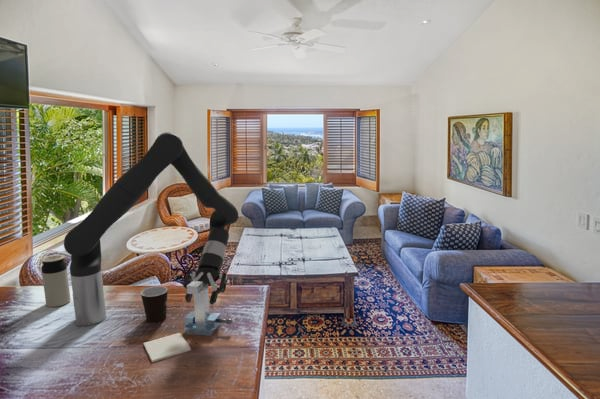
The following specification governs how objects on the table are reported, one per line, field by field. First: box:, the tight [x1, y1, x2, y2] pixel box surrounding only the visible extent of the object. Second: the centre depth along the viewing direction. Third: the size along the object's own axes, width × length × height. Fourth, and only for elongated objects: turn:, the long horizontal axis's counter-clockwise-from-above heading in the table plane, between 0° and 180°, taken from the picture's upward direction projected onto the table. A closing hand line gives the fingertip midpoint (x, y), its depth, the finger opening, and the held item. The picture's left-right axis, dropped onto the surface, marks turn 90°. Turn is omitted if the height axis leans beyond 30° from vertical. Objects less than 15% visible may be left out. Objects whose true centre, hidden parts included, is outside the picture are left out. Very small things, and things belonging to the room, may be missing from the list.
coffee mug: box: [140, 285, 169, 324], centre depth 137 cm, size 12×9×10 cm
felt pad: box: [143, 332, 192, 363], centre depth 118 cm, size 11×11×1 cm
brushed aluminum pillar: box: [186, 280, 211, 326], centre depth 126 cm, size 8×4×15 cm, turn 168°
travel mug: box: [40, 254, 72, 308], centre depth 148 cm, size 8×8×18 cm
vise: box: [183, 310, 233, 337], centre depth 129 cm, size 8×15×4 cm, turn 78°
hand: (199, 302), depth 126 cm, fingers open, 7 cm apart
